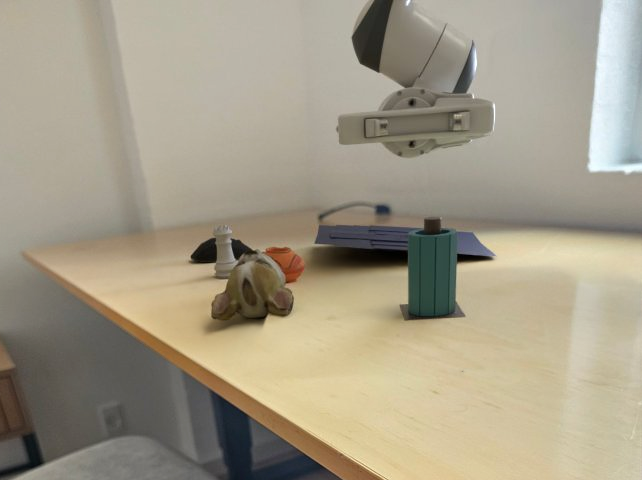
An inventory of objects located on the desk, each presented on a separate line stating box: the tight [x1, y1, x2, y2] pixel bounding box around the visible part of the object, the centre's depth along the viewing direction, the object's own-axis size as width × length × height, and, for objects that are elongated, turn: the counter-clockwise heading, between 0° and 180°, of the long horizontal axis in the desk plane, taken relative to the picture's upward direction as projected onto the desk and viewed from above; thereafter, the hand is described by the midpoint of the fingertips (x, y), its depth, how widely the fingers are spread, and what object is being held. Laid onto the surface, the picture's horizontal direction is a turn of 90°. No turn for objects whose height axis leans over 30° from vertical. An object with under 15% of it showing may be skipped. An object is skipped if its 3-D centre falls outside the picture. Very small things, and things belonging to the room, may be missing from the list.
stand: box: [399, 216, 467, 322], centre depth 76 cm, size 7×7×12 cm
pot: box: [263, 246, 306, 284], centre depth 99 cm, size 8×8×7 cm
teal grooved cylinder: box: [407, 227, 459, 317], centre depth 76 cm, size 5×6×9 cm
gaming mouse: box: [190, 237, 265, 263], centre depth 125 cm, size 6×15×4 cm, turn 97°
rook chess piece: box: [212, 224, 238, 279], centre depth 109 cm, size 4×4×8 cm
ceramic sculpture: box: [210, 248, 295, 322], centre depth 86 cm, size 11×9×15 cm
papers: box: [314, 224, 497, 257], centre depth 118 cm, size 24×30×4 cm
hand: (420, 125), depth 80 cm, fingers open, 8 cm apart
